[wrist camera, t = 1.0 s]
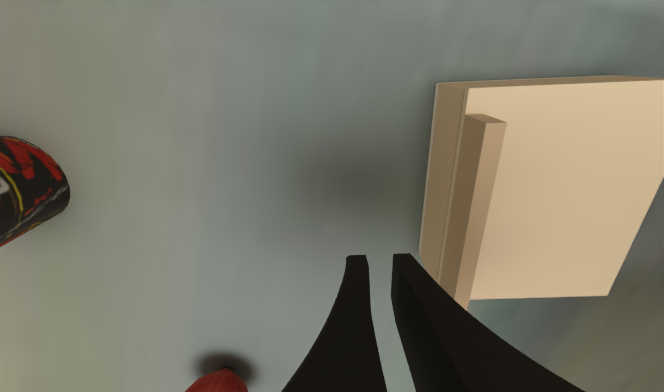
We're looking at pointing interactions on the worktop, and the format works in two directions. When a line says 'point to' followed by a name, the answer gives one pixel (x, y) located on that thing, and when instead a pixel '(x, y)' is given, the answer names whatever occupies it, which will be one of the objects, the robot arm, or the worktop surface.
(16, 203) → the deodorant
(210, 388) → the onion
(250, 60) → the worktop surface
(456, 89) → the base
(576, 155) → the lid
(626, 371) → the worktop surface
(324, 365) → the robot arm
